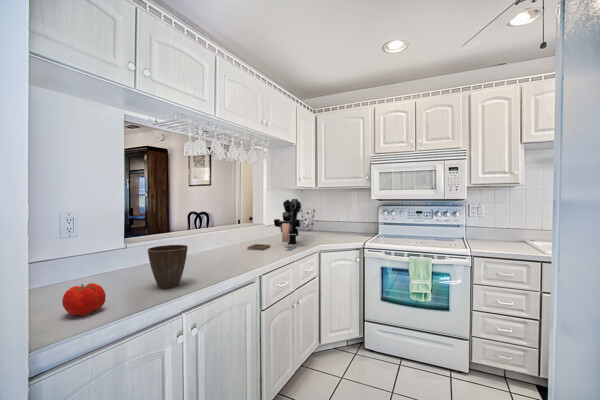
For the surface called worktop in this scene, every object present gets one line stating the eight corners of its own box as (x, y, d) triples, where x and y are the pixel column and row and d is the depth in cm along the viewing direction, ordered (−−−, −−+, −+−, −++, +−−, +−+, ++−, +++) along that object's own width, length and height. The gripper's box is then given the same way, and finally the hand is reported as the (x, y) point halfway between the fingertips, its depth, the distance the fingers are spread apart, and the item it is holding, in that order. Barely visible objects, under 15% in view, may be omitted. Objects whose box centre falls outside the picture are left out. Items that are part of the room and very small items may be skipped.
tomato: (57, 323, 81) (57, 293, 81) (70, 309, 91) (69, 283, 91) (101, 316, 85) (101, 288, 85) (108, 304, 95) (108, 278, 95)
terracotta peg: (281, 241, 198) (281, 223, 197) (288, 241, 199) (288, 223, 199) (283, 242, 193) (283, 223, 192) (290, 242, 194) (290, 223, 194)
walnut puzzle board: (255, 247, 203) (255, 244, 203) (270, 248, 199) (270, 244, 199) (247, 250, 191) (247, 246, 191) (263, 251, 188) (263, 247, 188)
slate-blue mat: (281, 247, 203) (281, 246, 203) (295, 248, 200) (295, 247, 200) (275, 250, 192) (275, 249, 192) (290, 250, 189) (290, 250, 189)
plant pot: (139, 289, 110) (138, 249, 110) (170, 279, 124) (170, 243, 124) (166, 294, 104) (165, 252, 104) (195, 283, 118) (195, 245, 118)
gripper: (274, 208, 201) (270, 224, 190) (299, 208, 198) (296, 225, 187) (277, 218, 209) (273, 234, 198) (301, 218, 206) (299, 235, 195)
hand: (285, 232), depth 194 cm, fingers closed on terracotta peg, 5 cm apart
